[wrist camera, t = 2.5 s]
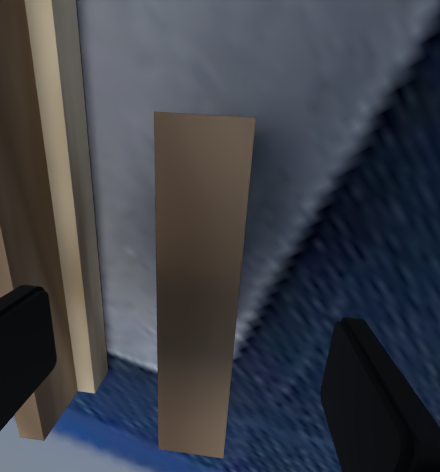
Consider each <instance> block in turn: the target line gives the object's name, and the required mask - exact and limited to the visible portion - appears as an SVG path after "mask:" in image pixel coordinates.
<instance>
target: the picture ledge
mask: <svg viewBox="0 0 440 472" xmlns="http://www.w3.org/2000/svg"><path fill="white" fill-rule="evenodd" d="M21 285H32V286H41V287H43V288H44V290H45V291H46V292H47V293H48V295H49V301H50V309H51V316H52V324H53V332H54V339H55V347H56V354H57V362H56V365H55V367H54V369H53V370H52V372H51V373H50V374H49V375H48V376H47V377H46V379H45V380H44V381H43V382H42V383H41V384H40V386H39V387H38V388H37V389H36V390H35V391H34V393H33V394H32V395H31V396H30V397H29V398H28V399H27V401H26V402H25V403H24V404H23V405H22V406H21V408H20V409H19V410H18V411H17V412H16V413H15V419H16V423H17V427H18V431H19V435H20V437H23V438H29V439H36V440H42V441H44V440H45V439H46V437H47V436H48V434H49V433H50V431H51V430H52V428H53V427H54V425H55V424H56V422H57V421H58V419H59V418H60V416H61V415H62V414H63V412H64V411H65V409H66V408H67V406H68V405H69V403H70V402H71V400H72V399H73V397H74V396H75V394H76V393H77V391H82V392H89V393H95V392H96V391H97V389H98V387H99V386H100V384H101V382H102V381H103V379H104V377H105V376H106V374H107V372H108V363H107V352H106V340H105V329H104V317H103V306H102V294H101V283H100V271H99V260H98V248H97V237H96V225H95V214H94V203H93V191H92V180H91V168H90V157H89V145H88V134H87V122H86V111H85V99H84V88H83V76H82V65H81V53H80V42H79V30H78V19H77V7H76V0H0V298H1V297H2V296H4V295H6V294H7V293H9V292H11V291H12V290H14V289H15V288H17V287H19V286H21Z"/></svg>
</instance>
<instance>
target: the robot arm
mask: <svg viewBox="0 0 440 472" xmlns="http://www.w3.org/2000/svg"><path fill="white" fill-rule="evenodd" d="M56 362H57V354H56V347H55V339H54V332H53V324H52V316H51V309H50V301H49V295H48V293H47V292H46V291H45V290H44V288H43V287H41V286H32V285H21V286H19V287H17V288H15V289H14V290H12V291H11V292H9V293H7V294H6V295H4V296H2V297H1V298H0V431H1V430H2V428H3V427H4V426H5V425H6V424H7V423H8V421H9V420H10V419H11V418H12V417H13V416H14V415H15V413H16V412H17V411H18V410H19V409H20V408H21V406H22V405H23V404H24V403H25V402H26V401H27V399H28V398H29V397H30V396H31V395H32V394H33V393H34V391H35V390H36V389H37V388H38V387H39V386H40V384H41V383H42V382H43V381H44V380H45V379H46V377H47V376H48V375H49V374H50V373H51V372H52V370H53V369H54V367H55V365H56ZM321 402H322V406H323V409H324V412H325V416H326V419H327V422H328V426H329V429H330V432H331V436H332V439H333V442H334V446H335V449H336V452H337V456H338V459H339V462H340V466H341V469H342V472H440V427H439V426H438V425H437V423H436V422H435V420H434V419H433V417H432V416H431V415H430V413H429V412H428V410H427V409H426V407H425V406H424V404H423V403H422V402H421V400H420V399H419V397H418V396H417V394H416V393H415V392H414V390H413V389H412V387H411V386H410V384H409V383H408V381H407V380H406V379H405V377H404V376H403V374H402V373H401V372H400V371H399V369H398V368H397V366H396V365H395V364H394V362H393V361H392V359H391V358H390V356H389V355H388V353H387V352H386V351H385V349H384V348H383V346H382V345H381V343H380V342H379V340H378V339H377V338H376V336H375V335H374V333H373V332H372V330H371V329H370V327H369V326H368V325H367V323H366V322H365V321H364V320H363V319H355V318H345V317H344V318H342V320H341V322H338V321H337V322H336V323H335V326H334V331H333V336H332V340H331V345H330V349H329V354H328V359H327V363H326V368H325V372H324V377H323V382H322V386H321Z"/></svg>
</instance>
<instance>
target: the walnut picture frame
mask: <svg viewBox="0 0 440 472" xmlns="http://www.w3.org/2000/svg"><path fill="white" fill-rule="evenodd" d="M255 121H256V118H251V117H235V116H218V115H202V114H185V113H169V112H154V138H155V211H156V283H157V356H158V429H159V449H163V450H169V451H176V452H183V453H190V454H197V455H203V456H210V457H217V458H223V454H224V444H225V433H226V423H227V412H228V402H229V392H230V381H231V371H232V360H233V350H234V340H235V329H236V319H237V308H238V298H239V288H240V277H241V267H242V256H243V246H244V235H245V225H246V215H247V204H248V194H249V183H250V173H251V163H252V152H253V142H254V131H255Z"/></svg>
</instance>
